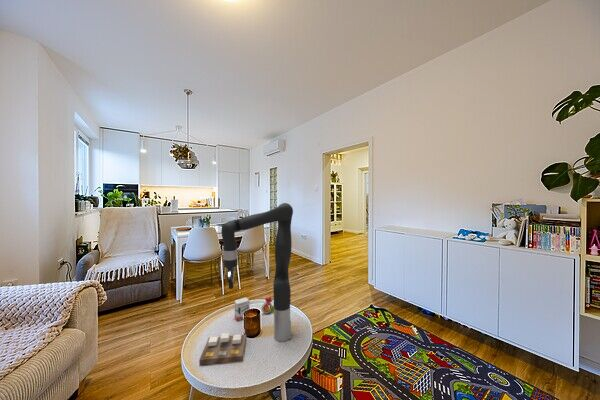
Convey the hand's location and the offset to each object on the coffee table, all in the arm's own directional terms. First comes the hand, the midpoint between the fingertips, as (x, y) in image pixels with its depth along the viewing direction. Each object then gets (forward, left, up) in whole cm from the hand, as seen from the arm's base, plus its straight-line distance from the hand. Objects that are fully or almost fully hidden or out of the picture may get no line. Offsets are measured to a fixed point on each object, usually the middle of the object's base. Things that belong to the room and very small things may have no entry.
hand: (231, 288), depth 126 cm
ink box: (-3, -19, -29) cm, 34 cm away
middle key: (+2, +9, -23) cm, 25 cm away
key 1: (+8, +9, -24) cm, 27 cm away
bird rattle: (-20, -22, -29) cm, 41 cm away
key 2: (-4, +9, -25) cm, 26 cm away
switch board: (+2, +11, -28) cm, 30 cm away
